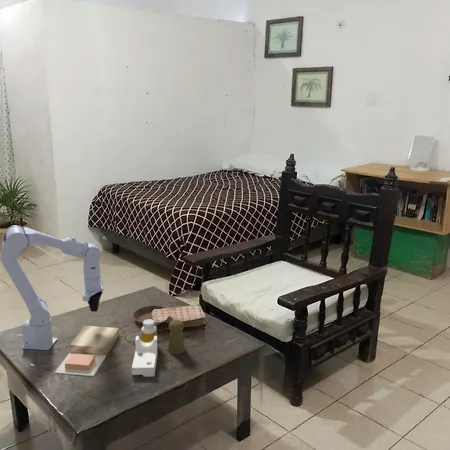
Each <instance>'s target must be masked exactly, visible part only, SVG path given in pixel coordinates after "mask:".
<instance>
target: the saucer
mask: <svg viewBox="0 0 450 450" xmlns="http://www.w3.org/2000/svg"><path fill="white" fill-rule="evenodd" d="M162 308H166V307H165V306H161V305H148V306H143V307H140V308H137V309H136V310H135V312H133V314H132V315H133V316H132V317H133V319H134V320H135V321H136V322H137V323H139V325H142V326H143V321H144V320H147V319H151V312H152V310H154V309H162Z"/></svg>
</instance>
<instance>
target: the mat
mask: <svg viewBox="0 0 450 450" xmlns="http://www.w3.org/2000/svg"><path fill="white" fill-rule="evenodd" d="M71 354H81V353H70V352H69V353H68V354H67V355H66V357H65V358H64V359H63V361H62V362H61V363H60V364H59V366H58V367H57V369H55V371H54V374H57V375H58V374H61V375H70V376H71V375H72V376H86V377H95V375H96V373H97V372H98V371H99V368H100V367H101V365H102V363H103V362H104V361H105V359H106V358H107V355H95V362H94V364H93V365H92V367H91V368H90V370H89V371H86V370H73V369H65V362H66V361H67V360H68V358H69V357H70V356H71ZM83 355H94V354H83Z"/></svg>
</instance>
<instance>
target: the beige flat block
mask: <svg viewBox="0 0 450 450" xmlns="http://www.w3.org/2000/svg"><path fill="white" fill-rule="evenodd" d="M119 337H120V328H119V327H108V326H95V325H84V326H83V327H82V329H81V330H80V332H79V333H77V334H76V336H75V338H74V339H73V340H72V341H71V343H70V344H69V353H80V354H93V355H106V356H108V354H109V353H110V351H111V350H112V347H113V346H114V345H115V343H116V341H117V340H118V338H119Z"/></svg>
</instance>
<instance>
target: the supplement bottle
mask: <svg viewBox="0 0 450 450" xmlns="http://www.w3.org/2000/svg"><path fill="white" fill-rule="evenodd" d="M154 325H155V323H154V320H152V319H147V320H144V321H143V325H142V327H141V329H140V330H141V332H140V333H141V341H142V342H145V343H149V342H151V341H153V339H154V336H157V337H158V335H157V334H158V333H157V332H158V331H157V330H158V329H157V328H158V327H157V326H154Z"/></svg>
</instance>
